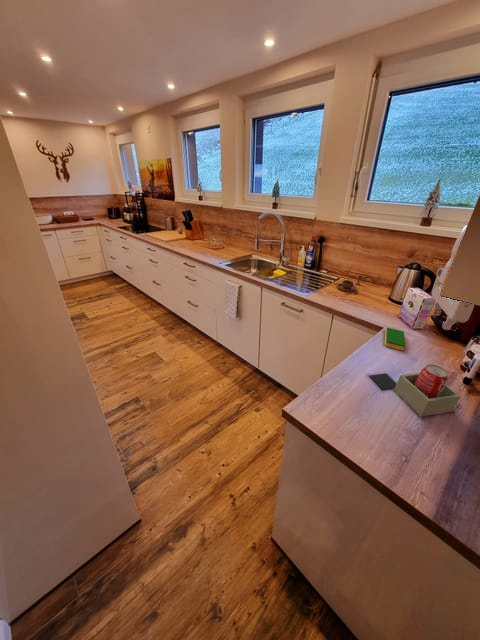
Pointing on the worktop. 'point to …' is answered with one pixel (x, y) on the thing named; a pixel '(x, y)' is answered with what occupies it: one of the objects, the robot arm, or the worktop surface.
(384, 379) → the coaster
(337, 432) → the worktop surface
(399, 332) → the dish sponge
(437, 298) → the robot arm
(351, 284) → the place setting
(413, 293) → the candy box
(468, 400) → the worktop surface
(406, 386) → the bin
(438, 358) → the worktop surface
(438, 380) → the soda can
